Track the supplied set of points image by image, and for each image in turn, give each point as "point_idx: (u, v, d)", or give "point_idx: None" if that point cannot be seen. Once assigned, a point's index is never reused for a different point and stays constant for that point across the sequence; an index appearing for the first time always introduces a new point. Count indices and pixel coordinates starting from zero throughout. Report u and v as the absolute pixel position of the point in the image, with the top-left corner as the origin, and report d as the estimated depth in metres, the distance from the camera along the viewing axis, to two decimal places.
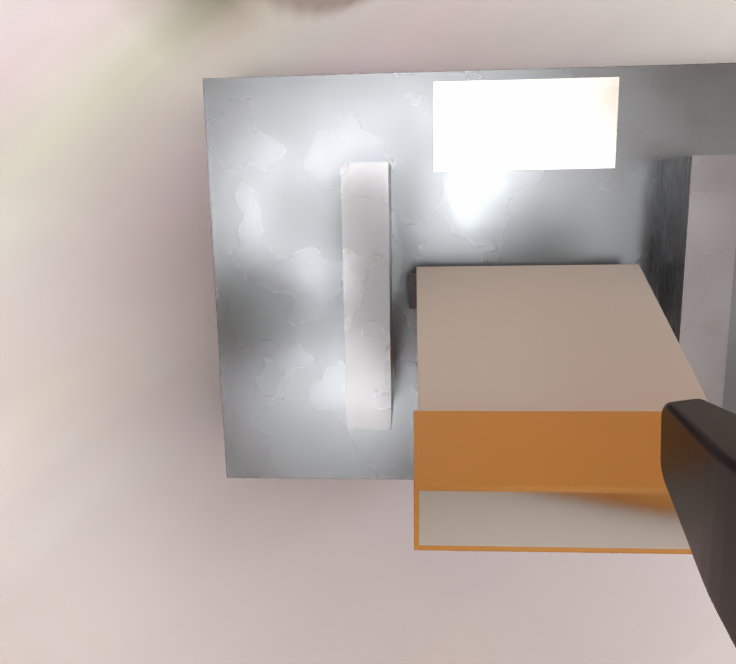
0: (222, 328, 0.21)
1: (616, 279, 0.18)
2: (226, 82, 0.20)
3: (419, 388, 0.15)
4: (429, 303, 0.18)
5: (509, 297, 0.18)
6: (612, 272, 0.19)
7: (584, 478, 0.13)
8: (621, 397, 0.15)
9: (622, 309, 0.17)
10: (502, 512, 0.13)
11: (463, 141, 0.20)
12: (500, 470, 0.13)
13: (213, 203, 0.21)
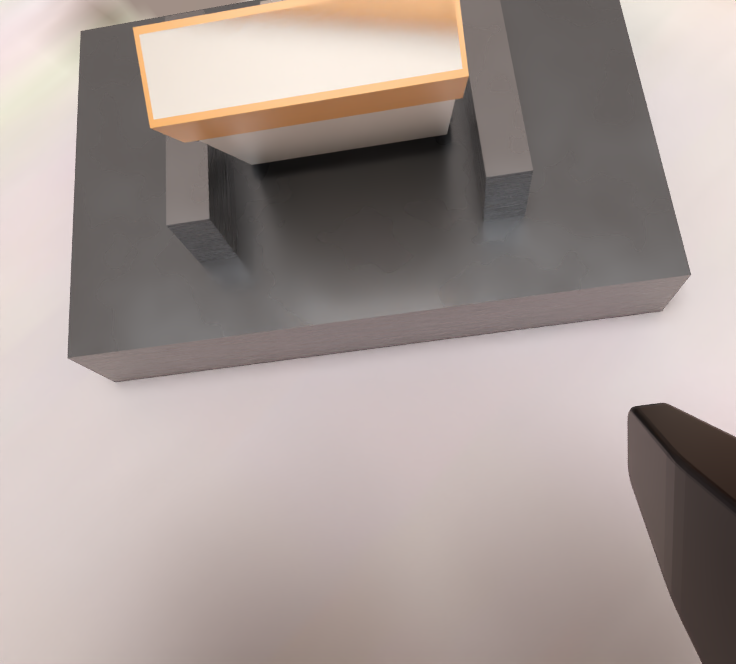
0: (77, 213, 0.22)
1: None
2: (99, 31, 0.25)
3: None
4: None
5: None
6: None
7: None
8: None
9: None
10: (223, 51, 0.13)
11: None
12: None
13: (80, 114, 0.24)
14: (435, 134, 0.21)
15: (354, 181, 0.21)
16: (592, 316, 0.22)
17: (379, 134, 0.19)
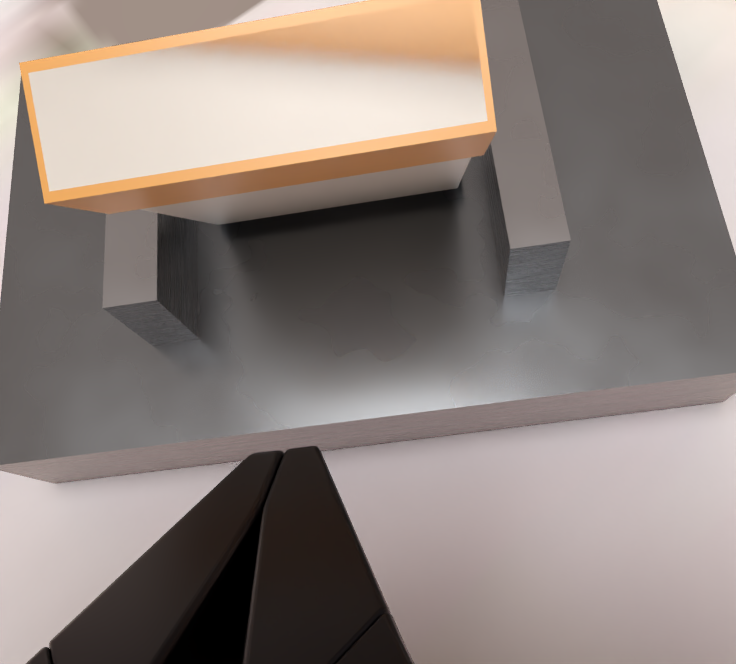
0: (7, 283, 0.18)
1: None
2: None
3: None
4: None
5: None
6: None
7: None
8: None
9: None
10: (146, 96, 0.09)
11: None
12: None
13: (16, 162, 0.20)
14: (443, 189, 0.17)
15: (343, 245, 0.17)
16: (638, 409, 0.18)
17: (373, 191, 0.15)
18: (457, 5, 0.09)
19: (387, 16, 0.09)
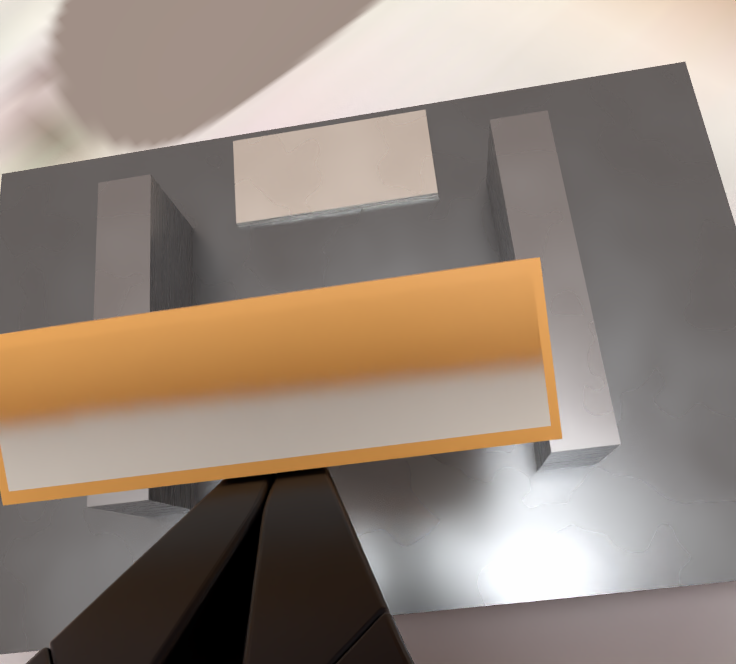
0: None
1: None
2: (25, 174, 0.19)
3: None
4: None
5: None
6: None
7: (250, 298, 0.08)
8: None
9: None
10: (126, 383, 0.08)
11: (267, 190, 0.18)
12: (125, 316, 0.08)
13: None
14: None
15: None
16: None
17: None
18: (514, 286, 0.07)
19: (426, 296, 0.07)
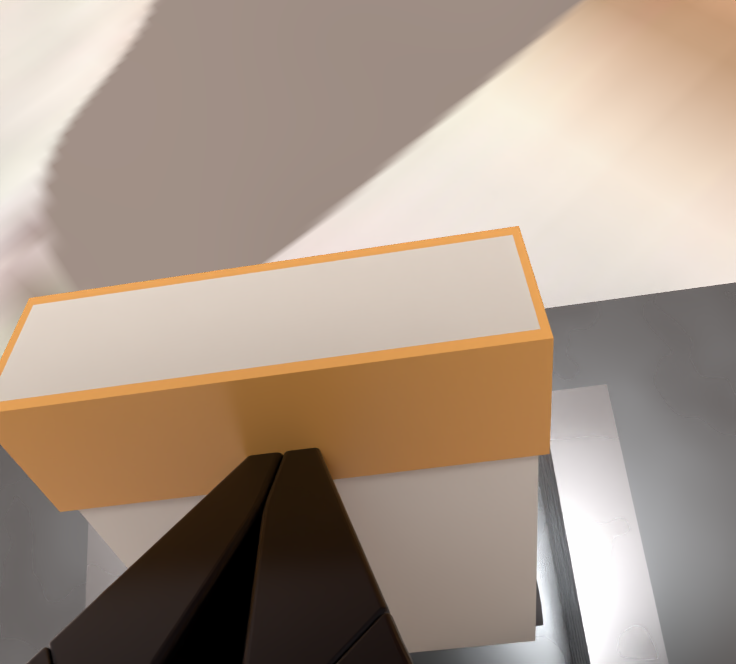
0: None
1: None
2: None
3: None
4: None
5: None
6: None
7: None
8: None
9: None
10: (143, 320, 0.08)
11: None
12: None
13: None
14: (515, 634, 0.12)
15: None
16: None
17: (418, 605, 0.12)
18: (497, 242, 0.08)
19: (420, 253, 0.08)
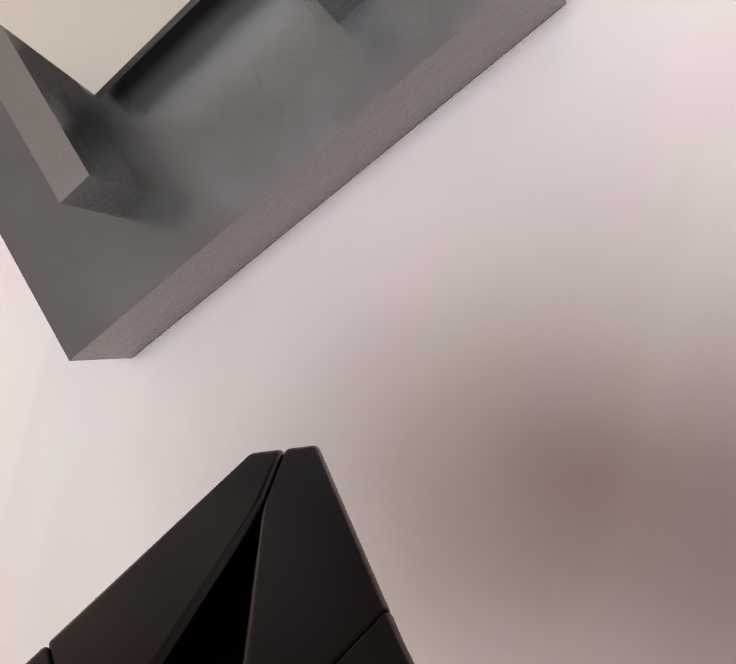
0: (6, 236, 0.23)
1: None
2: None
3: None
4: None
5: None
6: None
7: None
8: None
9: None
10: None
11: None
12: None
13: None
14: None
15: (206, 60, 0.20)
16: (500, 50, 0.20)
17: None
18: None
19: None
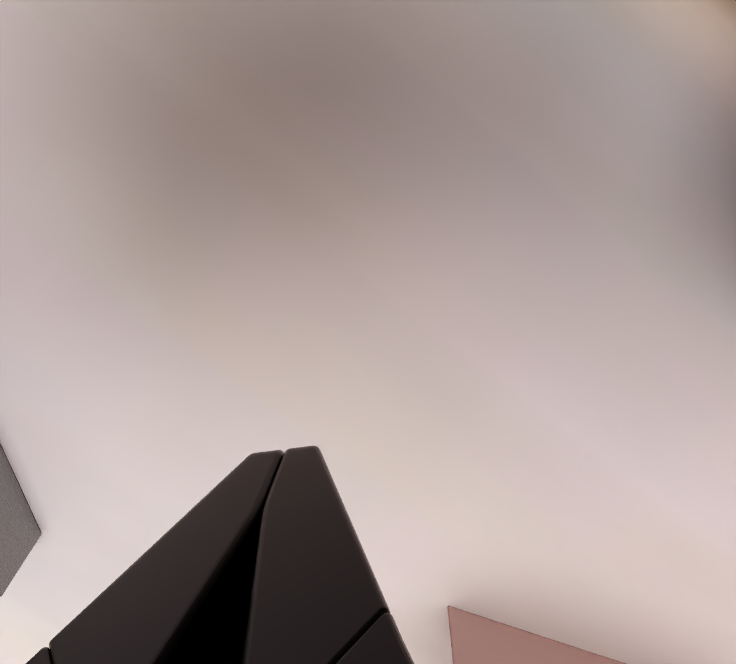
0: None
1: None
2: None
3: None
4: None
5: None
6: None
7: None
8: None
9: None
10: None
11: None
12: None
13: None
14: None
15: None
16: None
17: None
18: None
19: None
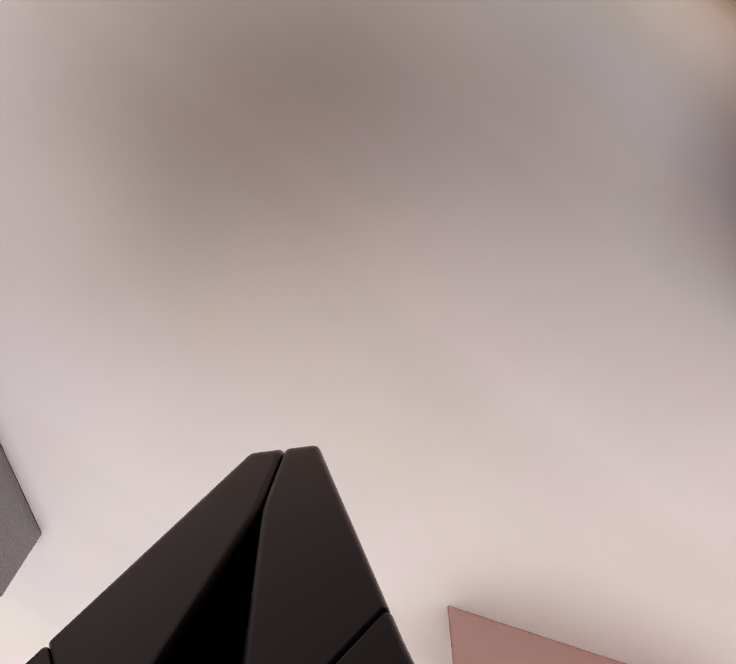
0: None
1: None
2: None
3: None
4: None
5: None
6: None
7: None
8: None
9: None
10: None
11: None
12: None
13: None
14: None
15: None
16: None
17: None
18: None
19: None
